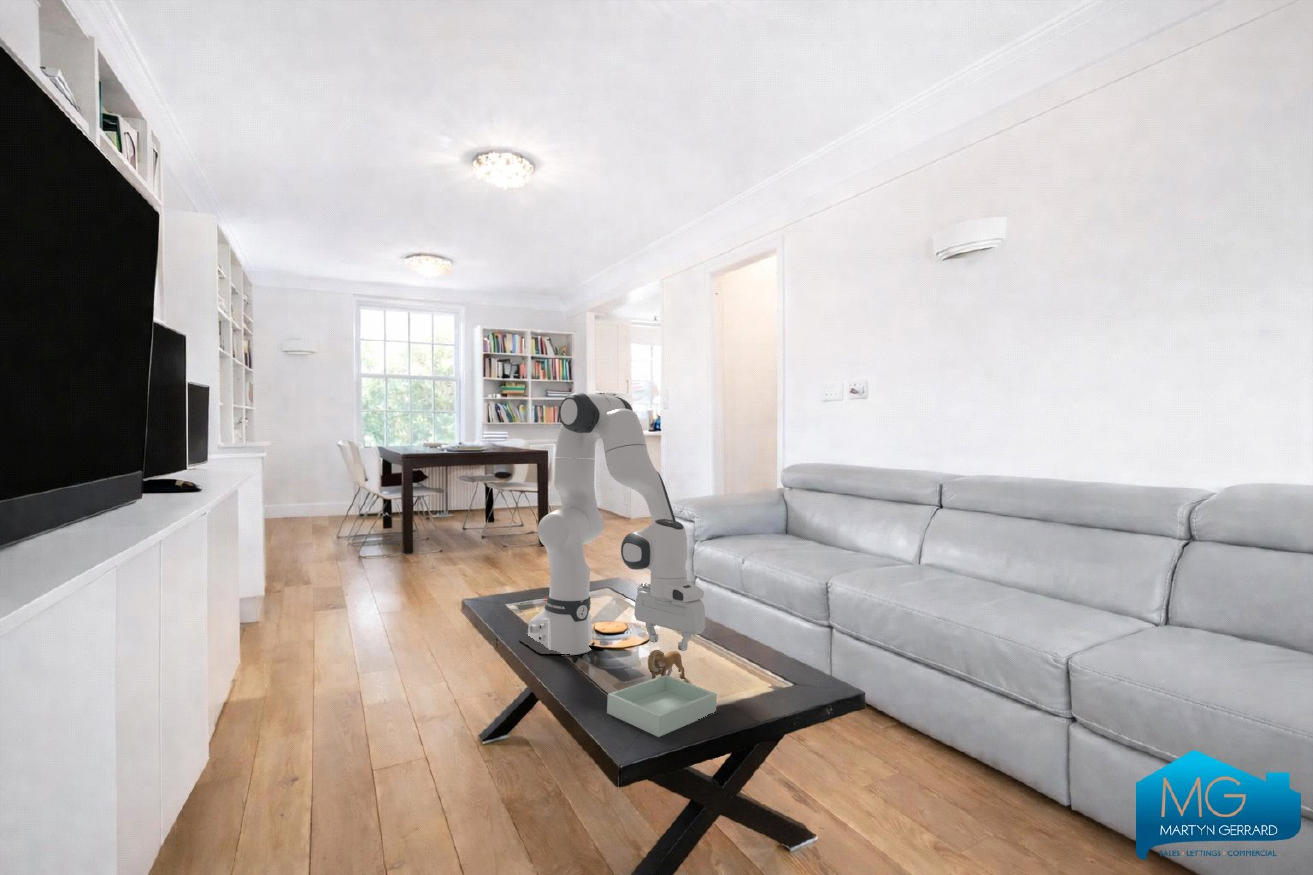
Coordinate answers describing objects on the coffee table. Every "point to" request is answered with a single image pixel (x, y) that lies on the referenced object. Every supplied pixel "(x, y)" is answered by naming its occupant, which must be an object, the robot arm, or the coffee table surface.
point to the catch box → (661, 704)
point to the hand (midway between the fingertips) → (667, 645)
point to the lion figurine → (664, 663)
